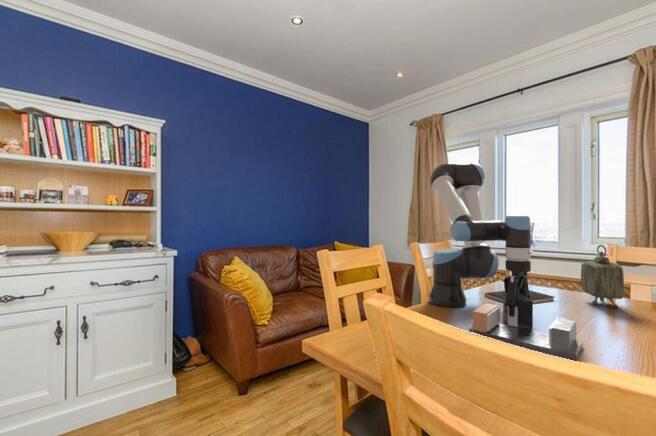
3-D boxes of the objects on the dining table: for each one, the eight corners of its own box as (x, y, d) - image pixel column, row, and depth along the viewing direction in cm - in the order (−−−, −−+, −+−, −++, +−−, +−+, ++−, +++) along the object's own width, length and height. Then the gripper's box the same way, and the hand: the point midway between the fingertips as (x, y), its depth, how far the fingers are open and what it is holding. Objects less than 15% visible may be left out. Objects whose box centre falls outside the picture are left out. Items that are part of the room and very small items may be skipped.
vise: (468, 333, 104) (468, 310, 104) (482, 323, 112) (482, 302, 112) (576, 360, 84) (576, 332, 84) (582, 346, 92) (582, 321, 92)
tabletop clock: (623, 310, 124) (623, 247, 124) (596, 308, 127) (595, 246, 127) (604, 300, 138) (604, 243, 138) (580, 299, 141) (579, 243, 141)
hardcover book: (554, 301, 140) (554, 296, 139) (513, 307, 133) (513, 301, 133) (522, 293, 155) (522, 288, 155) (484, 297, 148) (484, 292, 148)
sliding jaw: (472, 329, 103) (472, 311, 103) (486, 320, 111) (485, 303, 111) (487, 333, 99) (487, 314, 99) (500, 323, 108) (500, 305, 108)
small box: (534, 332, 104) (534, 300, 104) (512, 330, 105) (512, 299, 105) (521, 321, 114) (521, 292, 114) (502, 320, 116) (502, 291, 116)
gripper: (520, 264, 99) (520, 333, 99) (539, 257, 116) (539, 315, 116) (494, 262, 104) (494, 327, 104) (516, 255, 121) (516, 311, 121)
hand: (518, 321), depth 110 cm, fingers open, 12 cm apart
